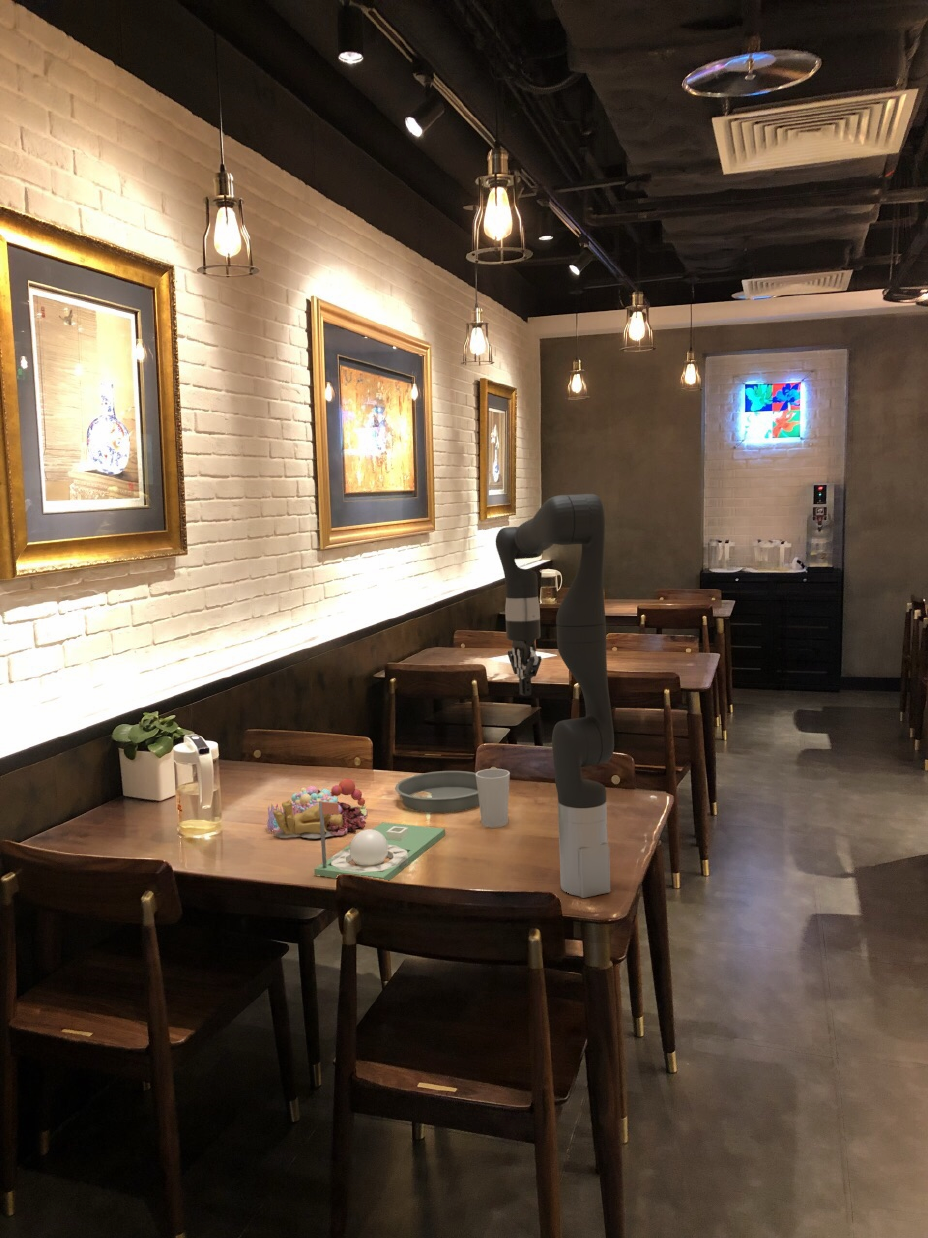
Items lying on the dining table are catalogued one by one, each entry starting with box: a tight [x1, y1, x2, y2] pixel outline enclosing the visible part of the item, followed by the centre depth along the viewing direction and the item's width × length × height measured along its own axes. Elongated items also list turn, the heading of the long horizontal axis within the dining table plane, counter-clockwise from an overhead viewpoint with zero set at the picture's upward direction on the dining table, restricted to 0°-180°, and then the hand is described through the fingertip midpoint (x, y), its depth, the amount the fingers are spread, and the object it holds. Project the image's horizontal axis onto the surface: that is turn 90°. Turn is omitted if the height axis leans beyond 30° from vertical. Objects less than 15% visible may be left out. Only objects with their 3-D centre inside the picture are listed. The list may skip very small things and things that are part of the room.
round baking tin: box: [394, 770, 480, 814], centre depth 242 cm, size 25×25×4 cm
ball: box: [349, 828, 388, 867], centre depth 198 cm, size 8×8×8 cm
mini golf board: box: [313, 801, 446, 881], centre depth 204 cm, size 30×16×16 cm, turn 157°
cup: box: [475, 768, 511, 829], centre depth 222 cm, size 8×8×12 cm
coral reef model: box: [266, 778, 369, 839], centre depth 227 cm, size 25×24×9 cm
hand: (525, 695), depth 210 cm, fingers closed
